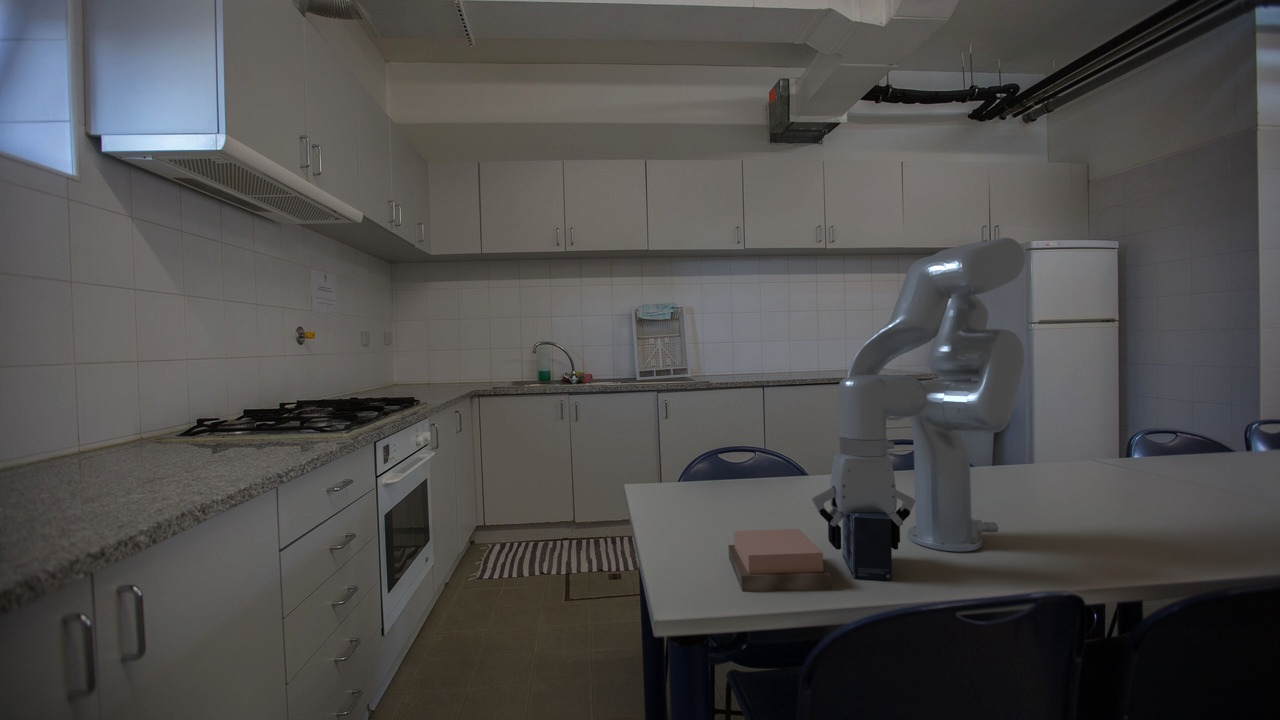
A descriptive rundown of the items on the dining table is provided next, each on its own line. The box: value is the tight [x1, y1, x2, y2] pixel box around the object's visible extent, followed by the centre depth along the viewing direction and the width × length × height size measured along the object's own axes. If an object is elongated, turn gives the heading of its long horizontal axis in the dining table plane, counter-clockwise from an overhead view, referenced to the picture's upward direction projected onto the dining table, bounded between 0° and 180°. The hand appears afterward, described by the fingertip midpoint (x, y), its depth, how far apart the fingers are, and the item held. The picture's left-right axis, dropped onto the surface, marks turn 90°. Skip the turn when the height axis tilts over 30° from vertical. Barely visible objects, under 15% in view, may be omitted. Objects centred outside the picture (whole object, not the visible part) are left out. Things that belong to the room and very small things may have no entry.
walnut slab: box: [728, 544, 832, 592], centre depth 90 cm, size 14×14×3 cm
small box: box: [842, 512, 893, 581], centre depth 90 cm, size 11×6×10 cm, turn 168°
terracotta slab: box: [733, 528, 824, 574], centre depth 89 cm, size 12×12×3 cm
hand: (863, 546), depth 90 cm, fingers open, 9 cm apart
